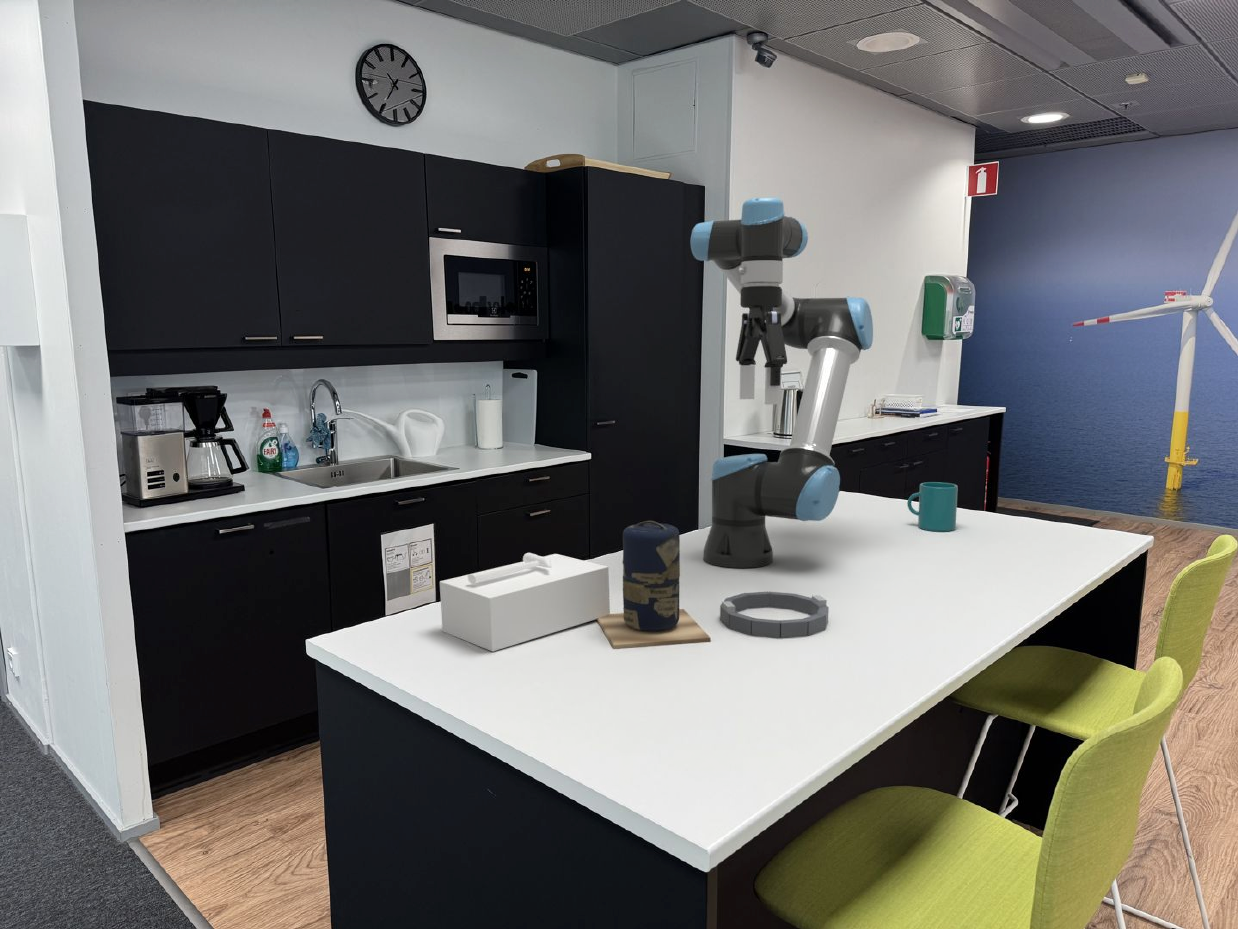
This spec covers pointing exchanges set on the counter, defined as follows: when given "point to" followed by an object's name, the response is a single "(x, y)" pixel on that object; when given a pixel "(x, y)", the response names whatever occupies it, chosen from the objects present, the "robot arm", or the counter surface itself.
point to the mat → (651, 632)
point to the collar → (775, 627)
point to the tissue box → (524, 600)
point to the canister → (651, 576)
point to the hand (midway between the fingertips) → (759, 401)
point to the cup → (936, 506)
